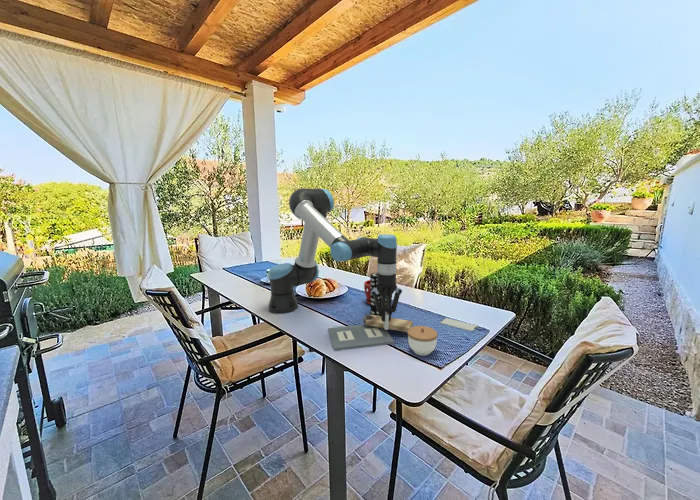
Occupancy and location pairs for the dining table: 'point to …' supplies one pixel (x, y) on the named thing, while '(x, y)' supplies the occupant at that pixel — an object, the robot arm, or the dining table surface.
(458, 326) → the smartphone
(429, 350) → the lidded jar
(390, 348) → the dining table surface
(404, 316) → the dining table surface
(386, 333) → the label panel
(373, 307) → the spotted tube
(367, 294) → the plant pot
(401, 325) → the swing arm
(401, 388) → the dining table surface
